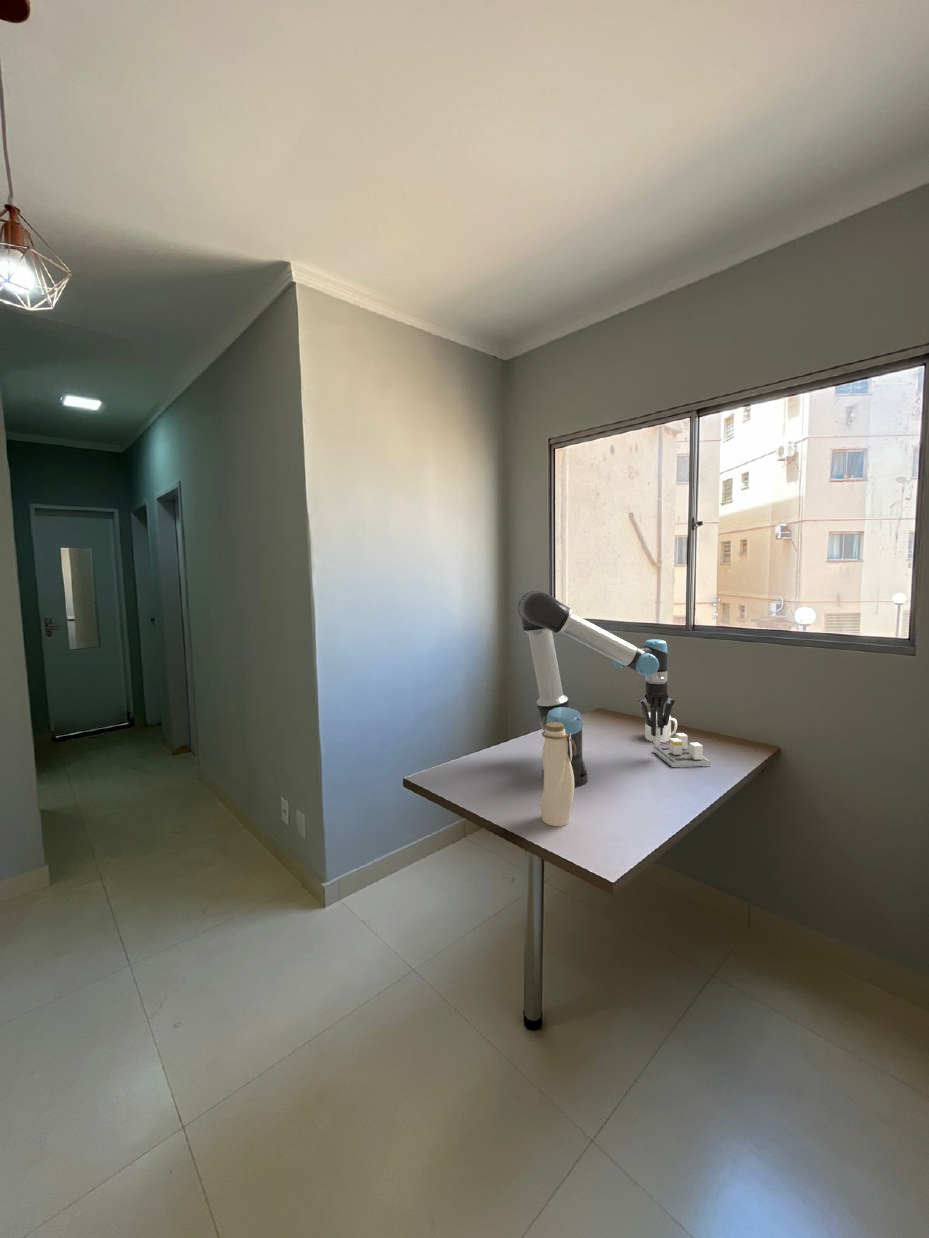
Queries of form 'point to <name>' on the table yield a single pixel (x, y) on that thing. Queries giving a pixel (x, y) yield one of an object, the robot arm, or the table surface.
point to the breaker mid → (675, 746)
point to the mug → (666, 730)
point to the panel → (679, 758)
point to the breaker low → (696, 751)
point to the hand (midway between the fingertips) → (656, 743)
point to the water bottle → (557, 775)
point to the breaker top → (683, 739)
